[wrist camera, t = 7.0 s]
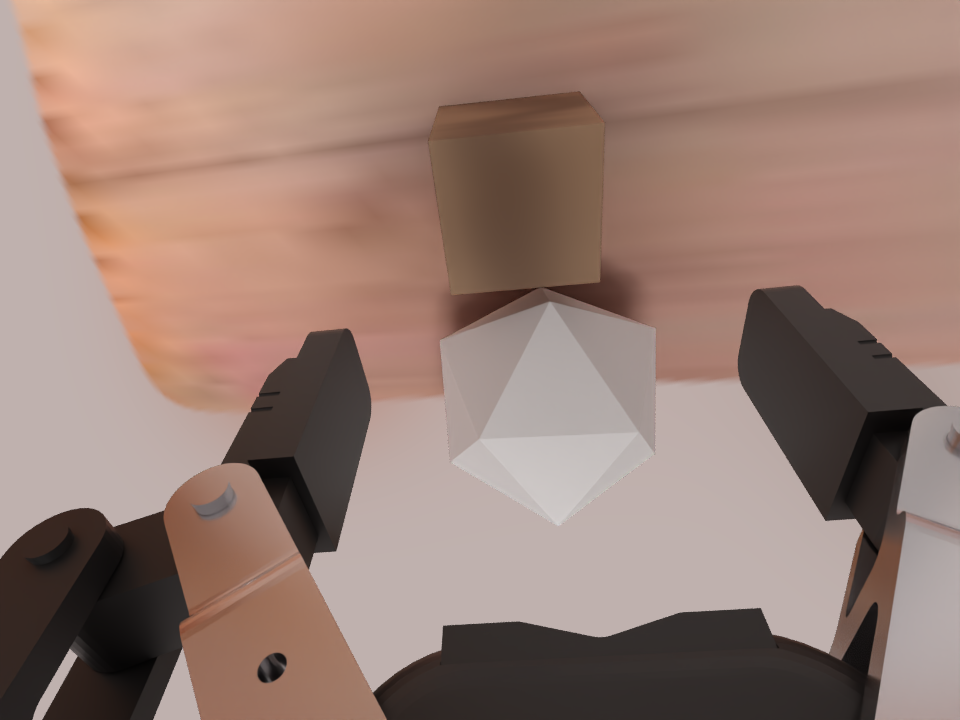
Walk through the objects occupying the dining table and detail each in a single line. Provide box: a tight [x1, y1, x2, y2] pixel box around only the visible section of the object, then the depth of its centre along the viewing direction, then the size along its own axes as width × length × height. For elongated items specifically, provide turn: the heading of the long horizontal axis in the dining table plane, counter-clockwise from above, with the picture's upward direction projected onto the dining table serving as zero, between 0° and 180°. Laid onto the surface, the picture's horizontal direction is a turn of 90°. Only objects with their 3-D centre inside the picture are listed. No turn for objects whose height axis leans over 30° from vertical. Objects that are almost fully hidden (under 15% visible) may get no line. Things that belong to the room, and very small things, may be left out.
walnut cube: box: [428, 92, 605, 295], centre depth 19 cm, size 5×5×5 cm
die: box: [440, 287, 656, 526], centre depth 22 cm, size 8×9×10 cm
